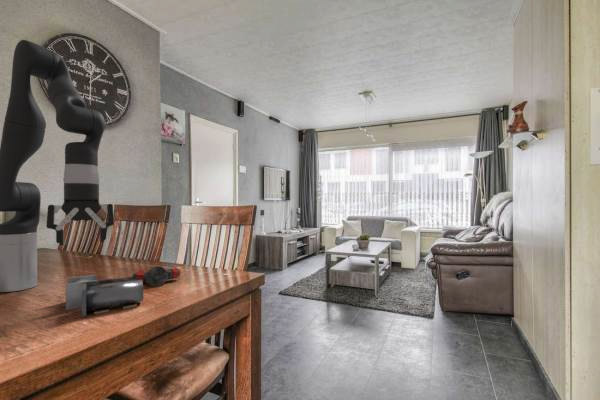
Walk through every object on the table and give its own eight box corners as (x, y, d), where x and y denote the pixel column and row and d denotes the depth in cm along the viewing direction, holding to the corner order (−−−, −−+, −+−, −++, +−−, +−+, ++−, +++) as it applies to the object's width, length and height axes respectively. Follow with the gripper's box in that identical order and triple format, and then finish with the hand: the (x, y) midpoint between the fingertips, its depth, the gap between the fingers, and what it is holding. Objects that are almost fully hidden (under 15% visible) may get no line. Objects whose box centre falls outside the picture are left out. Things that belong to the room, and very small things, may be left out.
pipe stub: (81, 317, 68) (81, 290, 68) (82, 309, 74) (82, 283, 74) (143, 306, 76) (143, 281, 76) (140, 299, 81) (140, 276, 81)
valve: (184, 279, 110) (178, 284, 96) (104, 288, 103) (86, 295, 89) (183, 261, 111) (178, 264, 96) (104, 270, 104) (86, 273, 89)
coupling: (97, 305, 77) (97, 280, 77) (65, 310, 73) (65, 284, 73) (96, 297, 83) (96, 274, 83) (68, 301, 80) (67, 278, 80)
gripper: (112, 184, 86) (113, 239, 86) (48, 182, 77) (48, 244, 77) (114, 182, 79) (114, 242, 79) (44, 180, 71) (45, 247, 71)
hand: (82, 243), depth 78 cm, fingers open, 8 cm apart
